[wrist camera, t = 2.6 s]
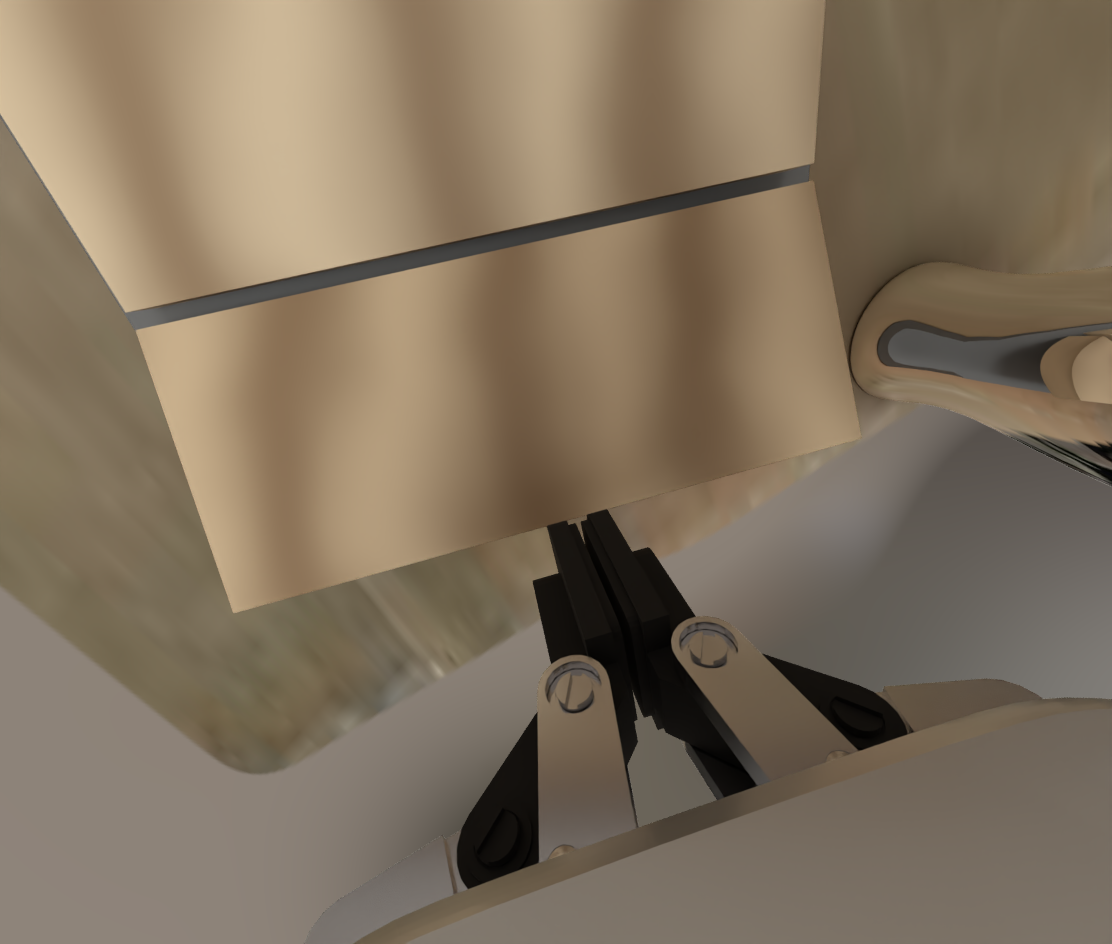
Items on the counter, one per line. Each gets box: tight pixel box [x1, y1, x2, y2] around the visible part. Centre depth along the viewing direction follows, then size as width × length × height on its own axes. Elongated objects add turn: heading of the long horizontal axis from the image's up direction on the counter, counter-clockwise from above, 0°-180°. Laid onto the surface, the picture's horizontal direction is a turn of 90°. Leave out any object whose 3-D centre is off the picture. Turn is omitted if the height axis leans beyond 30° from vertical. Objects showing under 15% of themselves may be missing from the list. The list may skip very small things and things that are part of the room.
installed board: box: [0, 0, 826, 313], centre depth 12 cm, size 22×9×2 cm, turn 102°
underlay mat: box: [0, 114, 810, 331], centre depth 15 cm, size 24×20×1 cm
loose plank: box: [136, 180, 862, 613], centre depth 15 cm, size 22×9×2 cm, turn 102°
